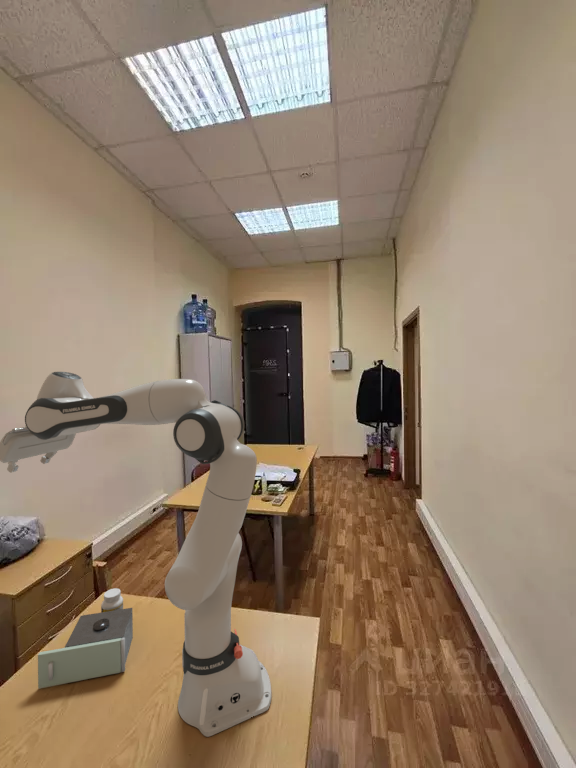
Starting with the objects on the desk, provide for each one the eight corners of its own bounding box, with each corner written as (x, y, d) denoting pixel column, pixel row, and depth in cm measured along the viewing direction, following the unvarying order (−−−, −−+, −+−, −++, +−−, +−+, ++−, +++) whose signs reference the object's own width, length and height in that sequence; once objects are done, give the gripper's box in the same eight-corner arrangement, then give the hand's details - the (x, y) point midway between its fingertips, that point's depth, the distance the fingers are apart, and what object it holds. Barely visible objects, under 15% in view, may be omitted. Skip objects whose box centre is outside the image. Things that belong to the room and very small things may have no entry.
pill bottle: (96, 630, 105) (96, 595, 105) (115, 618, 111) (114, 584, 111) (109, 637, 103) (109, 601, 102) (127, 624, 108) (127, 590, 108)
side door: (125, 668, 91) (125, 637, 91) (123, 674, 89) (123, 642, 89) (40, 685, 86) (39, 652, 86) (36, 692, 84) (35, 658, 84)
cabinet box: (132, 637, 103) (132, 605, 102) (123, 669, 91) (123, 634, 91) (81, 646, 99) (80, 613, 99) (65, 681, 88) (64, 644, 87)
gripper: (16, 436, 84) (-3, 483, 85) (84, 425, 103) (67, 463, 105) (-2, 423, 85) (-20, 470, 87) (69, 415, 105) (53, 453, 106)
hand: (28, 466), depth 96 cm, fingers open, 8 cm apart
